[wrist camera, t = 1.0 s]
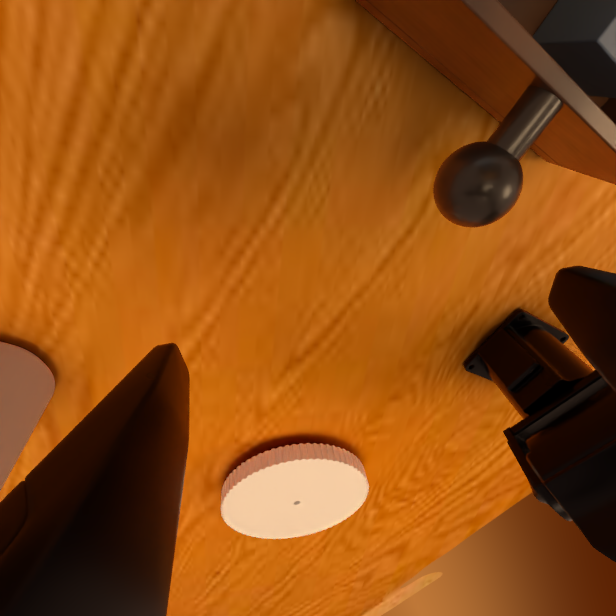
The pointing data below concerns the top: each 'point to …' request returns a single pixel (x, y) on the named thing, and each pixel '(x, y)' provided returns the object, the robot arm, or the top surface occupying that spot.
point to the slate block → (583, 43)
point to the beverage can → (20, 401)
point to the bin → (503, 99)
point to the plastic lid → (293, 491)
